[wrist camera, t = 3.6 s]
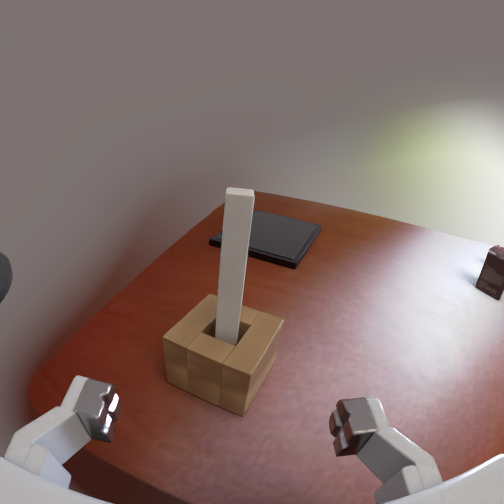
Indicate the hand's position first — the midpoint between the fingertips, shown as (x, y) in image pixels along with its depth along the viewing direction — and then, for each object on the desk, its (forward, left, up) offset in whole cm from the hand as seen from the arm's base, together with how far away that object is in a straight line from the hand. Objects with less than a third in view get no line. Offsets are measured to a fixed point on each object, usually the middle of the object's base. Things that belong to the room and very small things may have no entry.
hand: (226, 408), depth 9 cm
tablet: (-11, +42, -10) cm, 44 cm away
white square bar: (-4, +10, -10) cm, 15 cm away
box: (+33, +46, -10) cm, 57 cm away
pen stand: (-4, +10, -10) cm, 15 cm away
